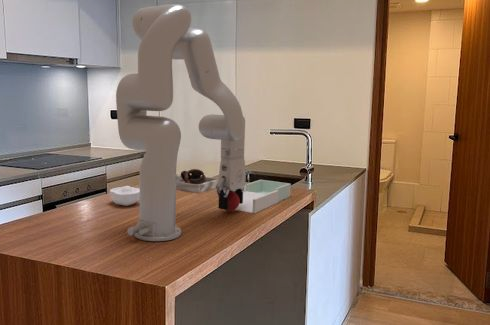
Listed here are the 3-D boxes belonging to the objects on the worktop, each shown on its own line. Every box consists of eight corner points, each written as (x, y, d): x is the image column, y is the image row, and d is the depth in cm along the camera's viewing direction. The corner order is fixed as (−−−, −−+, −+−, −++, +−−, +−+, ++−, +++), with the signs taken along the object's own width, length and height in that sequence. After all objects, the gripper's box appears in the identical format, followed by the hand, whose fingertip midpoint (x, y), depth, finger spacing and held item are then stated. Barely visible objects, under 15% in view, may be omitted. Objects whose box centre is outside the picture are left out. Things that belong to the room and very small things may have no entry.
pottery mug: (210, 186, 192) (210, 171, 187) (197, 200, 186) (197, 184, 181) (186, 176, 197) (185, 161, 191) (173, 189, 190) (172, 174, 185)
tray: (276, 202, 166) (277, 188, 165) (244, 197, 172) (245, 184, 172) (290, 196, 177) (290, 183, 176) (260, 191, 183) (260, 179, 182)
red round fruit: (237, 215, 147) (237, 190, 146) (219, 213, 148) (220, 189, 147) (240, 211, 152) (241, 187, 151) (223, 209, 153) (224, 186, 152)
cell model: (137, 199, 163) (137, 180, 162) (143, 207, 152) (144, 187, 151) (107, 201, 159) (107, 181, 158) (112, 209, 148) (112, 189, 147)
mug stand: (198, 193, 177) (198, 185, 176) (158, 186, 186) (159, 179, 185) (221, 186, 192) (221, 179, 191) (183, 180, 200) (184, 173, 200)
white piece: (254, 216, 150) (255, 199, 150) (218, 209, 157) (218, 193, 156) (277, 205, 166) (278, 190, 165) (243, 199, 173) (244, 185, 172)
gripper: (228, 157, 138) (227, 213, 141) (255, 152, 153) (253, 202, 156) (207, 155, 141) (206, 209, 144) (235, 150, 157) (234, 199, 159)
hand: (230, 205), depth 150 cm, fingers open, 9 cm apart
